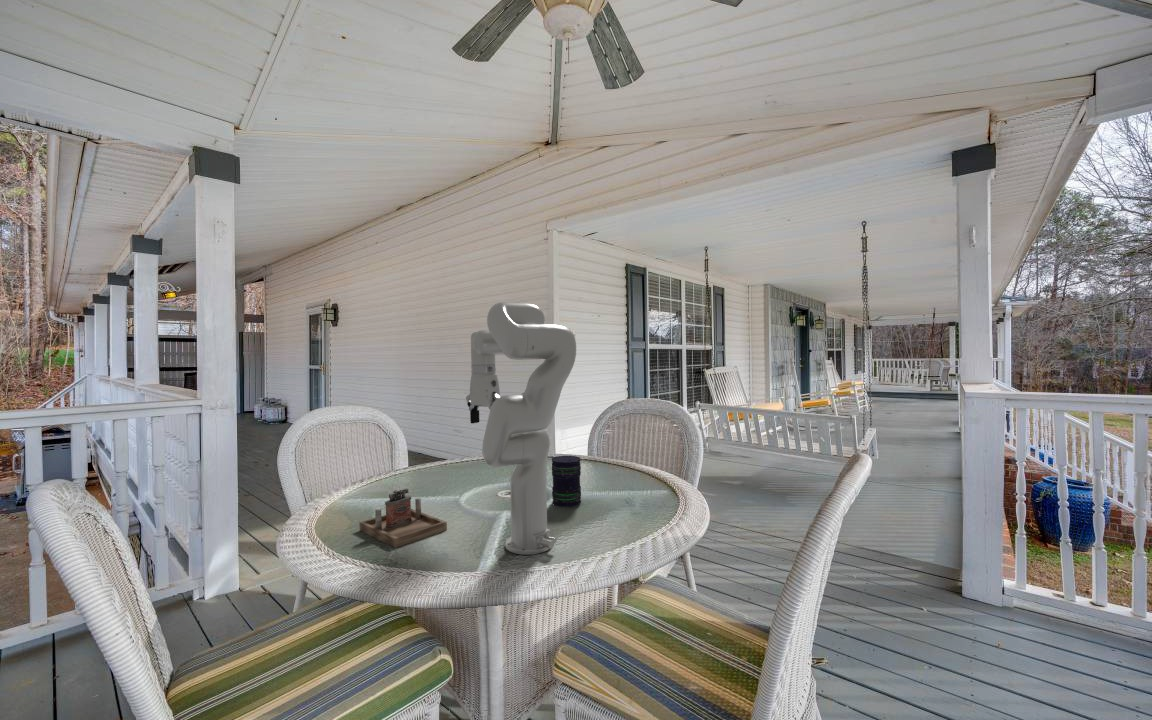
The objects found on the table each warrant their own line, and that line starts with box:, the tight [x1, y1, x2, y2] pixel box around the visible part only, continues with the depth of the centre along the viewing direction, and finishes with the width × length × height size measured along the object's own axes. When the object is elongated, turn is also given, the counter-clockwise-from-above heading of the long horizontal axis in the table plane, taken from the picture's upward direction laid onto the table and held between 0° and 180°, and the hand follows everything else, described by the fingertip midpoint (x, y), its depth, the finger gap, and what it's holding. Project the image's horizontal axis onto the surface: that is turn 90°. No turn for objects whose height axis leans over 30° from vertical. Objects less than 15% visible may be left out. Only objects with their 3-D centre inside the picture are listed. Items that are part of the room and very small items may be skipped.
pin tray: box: [359, 497, 448, 549], centre depth 141 cm, size 20×16×7 cm
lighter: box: [384, 487, 412, 529], centre depth 143 cm, size 8×3×10 cm, turn 143°
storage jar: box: [551, 455, 582, 508], centre depth 164 cm, size 10×10×15 cm
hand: (484, 424), depth 155 cm, fingers open, 9 cm apart
